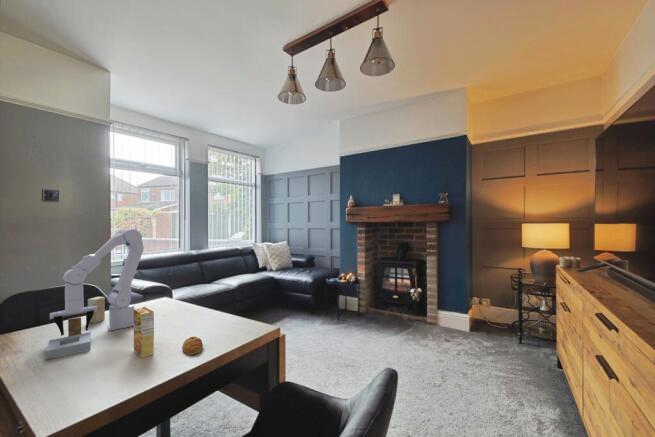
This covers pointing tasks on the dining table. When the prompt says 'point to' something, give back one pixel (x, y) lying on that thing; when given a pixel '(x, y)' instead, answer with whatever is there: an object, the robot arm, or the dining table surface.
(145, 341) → the candy box
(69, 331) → the peg
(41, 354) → the dining table surface
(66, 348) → the socket block
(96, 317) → the box
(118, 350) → the dining table surface
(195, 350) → the pastry
